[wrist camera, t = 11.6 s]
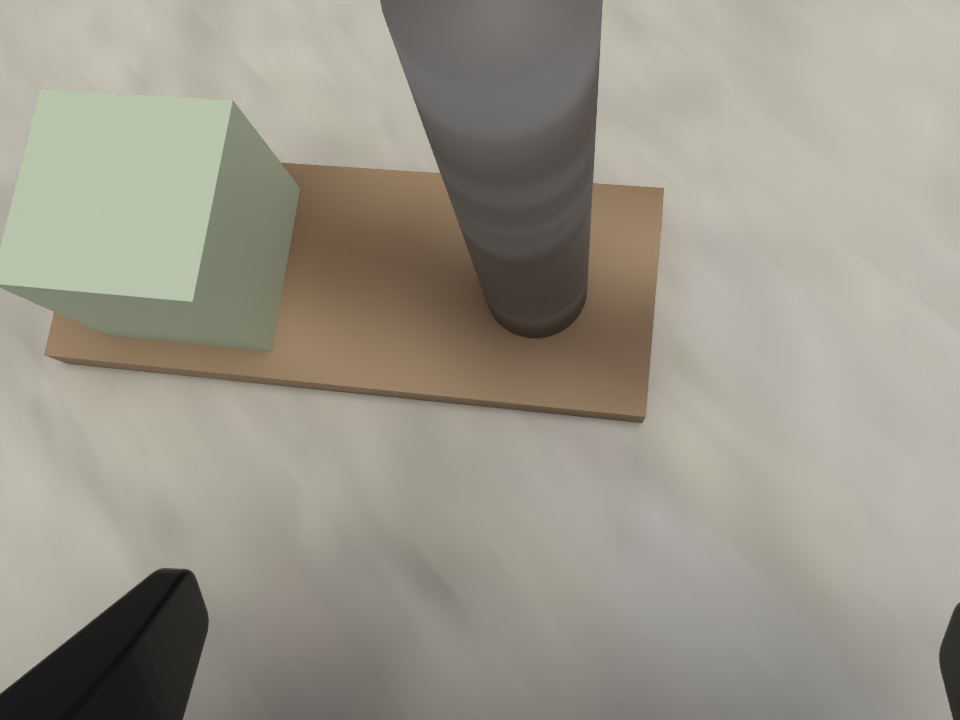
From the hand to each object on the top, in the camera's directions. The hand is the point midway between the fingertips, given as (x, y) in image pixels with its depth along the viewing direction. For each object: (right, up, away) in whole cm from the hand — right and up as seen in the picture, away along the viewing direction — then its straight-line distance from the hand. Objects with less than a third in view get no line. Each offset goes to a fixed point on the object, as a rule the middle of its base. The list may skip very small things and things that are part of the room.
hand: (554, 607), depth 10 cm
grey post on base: (-4, +5, +13) cm, 15 cm away
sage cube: (-8, +6, +13) cm, 16 cm away
